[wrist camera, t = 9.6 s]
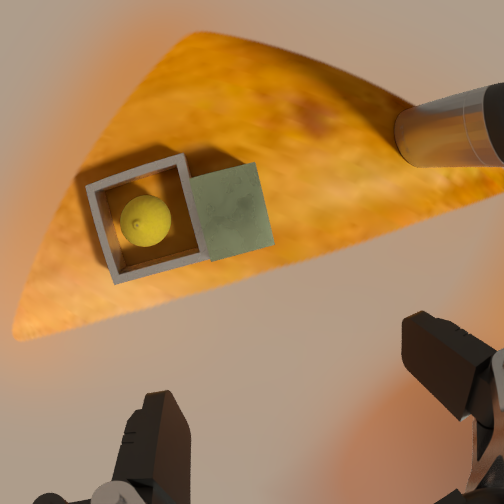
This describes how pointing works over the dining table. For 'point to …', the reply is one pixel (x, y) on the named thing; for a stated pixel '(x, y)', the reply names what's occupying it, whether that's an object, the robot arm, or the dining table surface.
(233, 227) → the square open box
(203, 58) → the dining table surface
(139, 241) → the lemon
